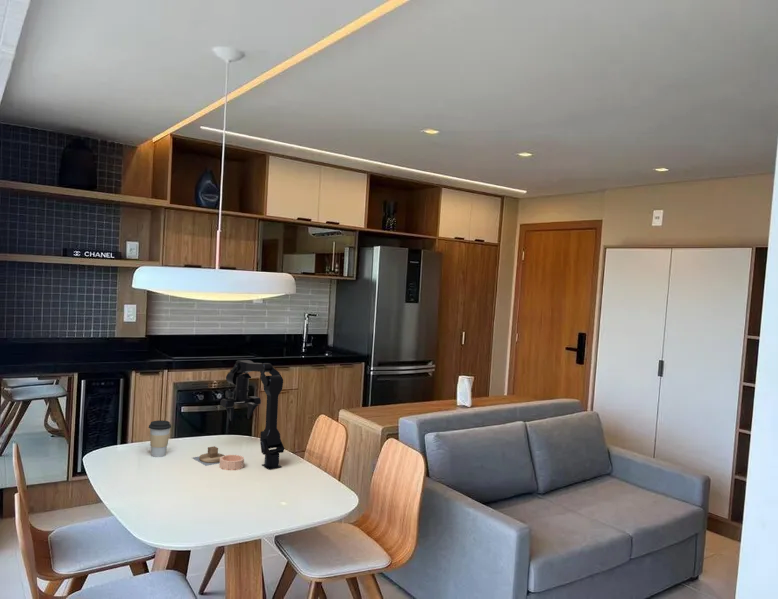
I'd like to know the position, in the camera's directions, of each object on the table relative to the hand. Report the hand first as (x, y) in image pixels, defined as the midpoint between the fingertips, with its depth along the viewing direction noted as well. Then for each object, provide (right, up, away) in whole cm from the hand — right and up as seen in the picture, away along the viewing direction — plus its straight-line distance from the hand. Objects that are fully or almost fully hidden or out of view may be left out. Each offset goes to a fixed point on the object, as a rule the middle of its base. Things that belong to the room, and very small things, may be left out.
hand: (239, 419), depth 277 cm
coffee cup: (-32, -13, -17) cm, 38 cm away
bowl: (+3, -16, -25) cm, 29 cm away
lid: (-8, -14, -17) cm, 23 cm away
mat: (-8, -15, -17) cm, 24 cm away
